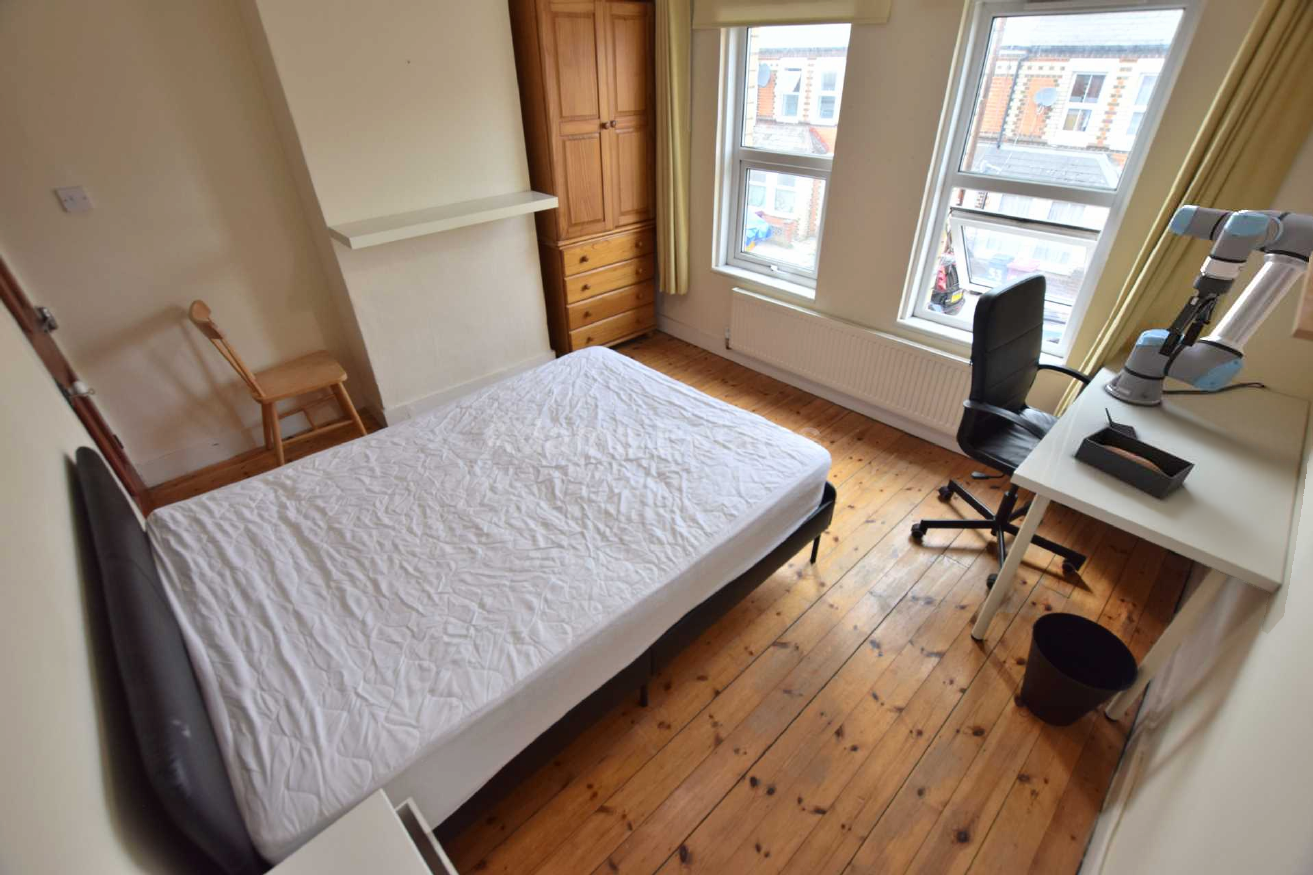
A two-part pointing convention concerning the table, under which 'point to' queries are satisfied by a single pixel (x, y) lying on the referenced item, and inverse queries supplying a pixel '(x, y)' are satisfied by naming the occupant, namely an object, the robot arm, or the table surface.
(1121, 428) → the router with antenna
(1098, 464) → the bin
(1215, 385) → the robot arm
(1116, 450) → the sunglasses case
